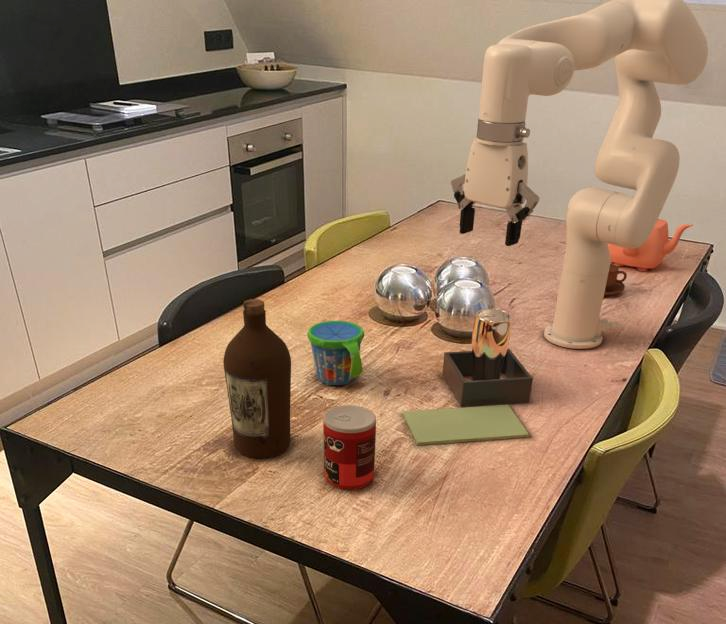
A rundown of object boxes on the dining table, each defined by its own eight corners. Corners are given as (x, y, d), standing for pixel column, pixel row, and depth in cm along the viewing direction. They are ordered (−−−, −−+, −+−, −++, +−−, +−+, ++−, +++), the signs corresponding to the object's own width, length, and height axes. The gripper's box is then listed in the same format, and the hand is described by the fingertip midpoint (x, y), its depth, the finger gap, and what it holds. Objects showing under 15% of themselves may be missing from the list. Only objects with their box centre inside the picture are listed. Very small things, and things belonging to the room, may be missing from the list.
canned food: (322, 464, 124) (322, 405, 118) (371, 463, 124) (373, 404, 118) (325, 491, 118) (324, 430, 111) (376, 490, 118) (378, 428, 112)
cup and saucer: (605, 281, 201) (610, 257, 198) (632, 296, 192) (638, 272, 188) (566, 285, 198) (570, 261, 194) (591, 301, 188) (596, 276, 185)
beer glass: (501, 398, 144) (511, 323, 136) (465, 394, 145) (472, 320, 137) (503, 382, 150) (513, 309, 142) (468, 378, 151) (475, 306, 143)
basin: (506, 371, 154) (509, 348, 151) (529, 402, 143) (533, 378, 141) (442, 375, 152) (444, 352, 149) (460, 407, 141) (463, 382, 138)
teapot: (681, 273, 208) (695, 221, 200) (620, 276, 204) (632, 224, 196) (646, 252, 222) (658, 203, 215) (589, 255, 219) (598, 206, 211)
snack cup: (296, 367, 154) (294, 319, 148) (343, 358, 158) (343, 312, 152) (327, 400, 142) (327, 350, 136) (377, 390, 146) (379, 341, 140)
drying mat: (507, 407, 142) (508, 404, 141) (528, 437, 133) (529, 434, 132) (403, 414, 138) (403, 411, 138) (416, 445, 130) (417, 442, 129)
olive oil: (249, 423, 134) (239, 286, 120) (304, 436, 131) (300, 296, 117) (219, 453, 126) (204, 309, 112) (276, 466, 123) (268, 320, 109)
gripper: (558, 137, 121) (542, 244, 131) (471, 122, 131) (461, 224, 140) (533, 142, 117) (518, 254, 126) (444, 127, 126) (436, 232, 136)
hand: (488, 238), depth 133 cm, fingers open, 9 cm apart
